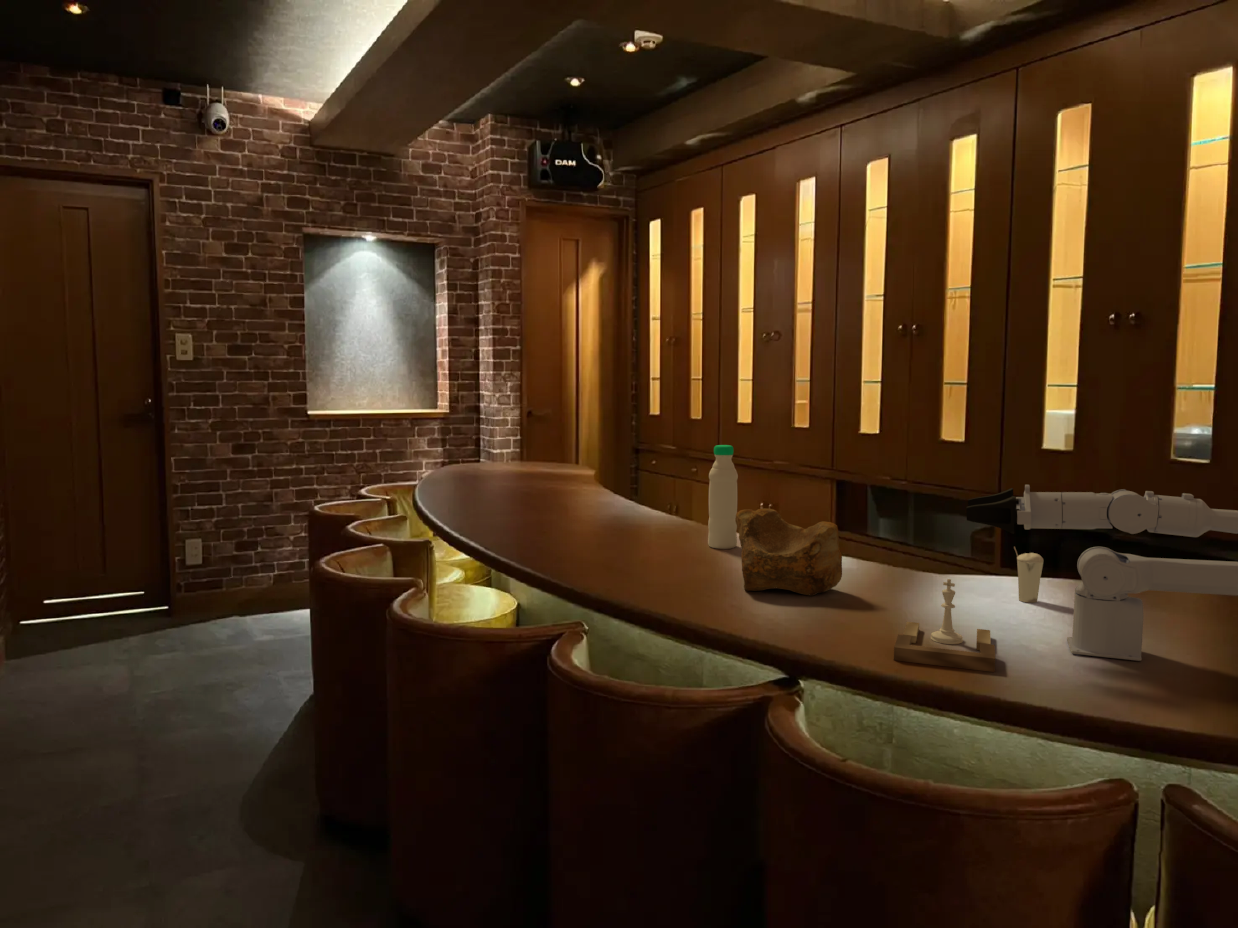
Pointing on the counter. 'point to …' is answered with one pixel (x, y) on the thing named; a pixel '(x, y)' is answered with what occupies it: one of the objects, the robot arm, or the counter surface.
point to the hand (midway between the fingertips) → (967, 509)
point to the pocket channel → (913, 630)
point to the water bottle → (722, 500)
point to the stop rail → (945, 655)
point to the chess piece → (947, 619)
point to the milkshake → (1029, 576)
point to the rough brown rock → (787, 553)
